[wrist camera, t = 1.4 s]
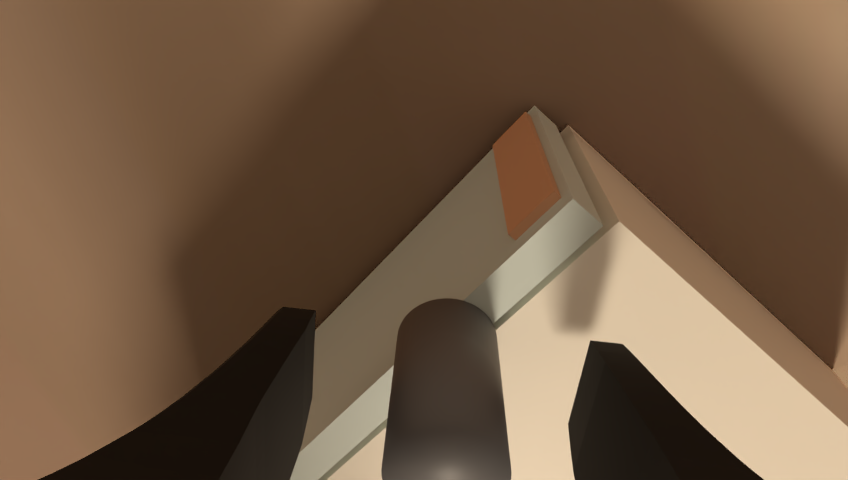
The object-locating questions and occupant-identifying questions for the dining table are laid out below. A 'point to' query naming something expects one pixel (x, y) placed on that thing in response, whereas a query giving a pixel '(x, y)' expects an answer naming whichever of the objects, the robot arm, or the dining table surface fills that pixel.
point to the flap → (447, 318)
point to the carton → (654, 348)
